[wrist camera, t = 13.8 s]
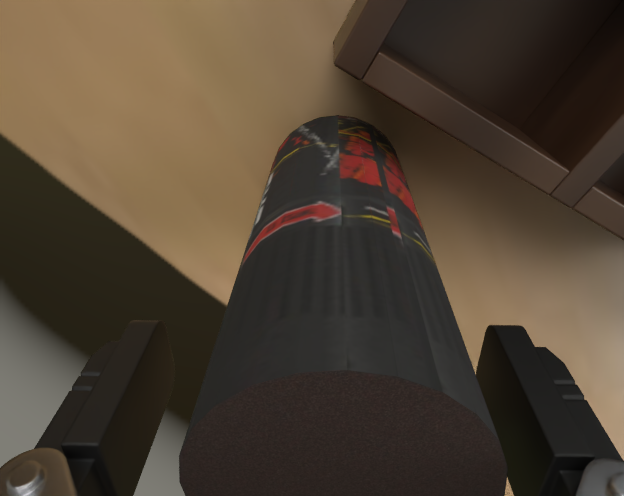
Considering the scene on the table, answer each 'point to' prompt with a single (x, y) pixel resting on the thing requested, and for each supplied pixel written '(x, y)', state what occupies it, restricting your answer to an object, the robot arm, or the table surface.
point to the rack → (508, 85)
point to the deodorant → (339, 343)
